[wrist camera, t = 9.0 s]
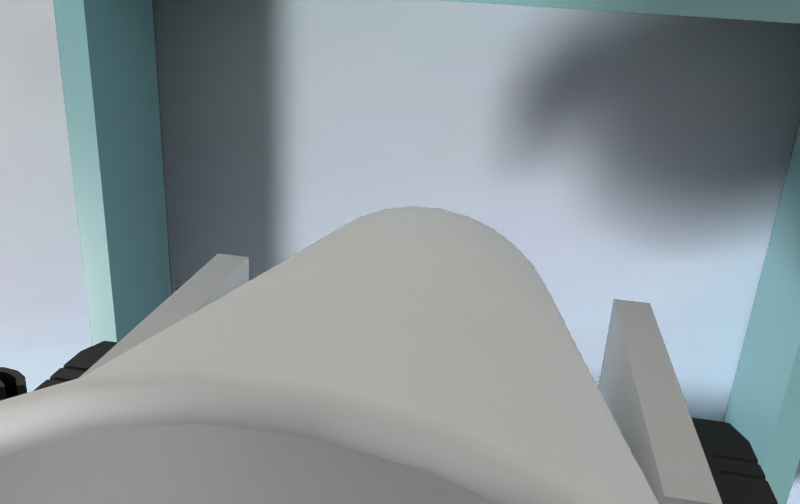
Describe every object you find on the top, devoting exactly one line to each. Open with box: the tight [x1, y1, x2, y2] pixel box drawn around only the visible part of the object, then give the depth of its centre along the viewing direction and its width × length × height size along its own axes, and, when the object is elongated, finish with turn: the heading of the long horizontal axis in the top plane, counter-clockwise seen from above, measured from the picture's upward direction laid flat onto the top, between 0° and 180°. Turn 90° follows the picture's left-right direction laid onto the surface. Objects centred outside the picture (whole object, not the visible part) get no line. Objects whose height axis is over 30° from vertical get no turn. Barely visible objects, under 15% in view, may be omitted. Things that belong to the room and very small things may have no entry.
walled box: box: [53, 0, 800, 504], centre depth 21 cm, size 16×20×4 cm
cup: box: [0, 207, 659, 504], centre depth 12 cm, size 10×10×11 cm
